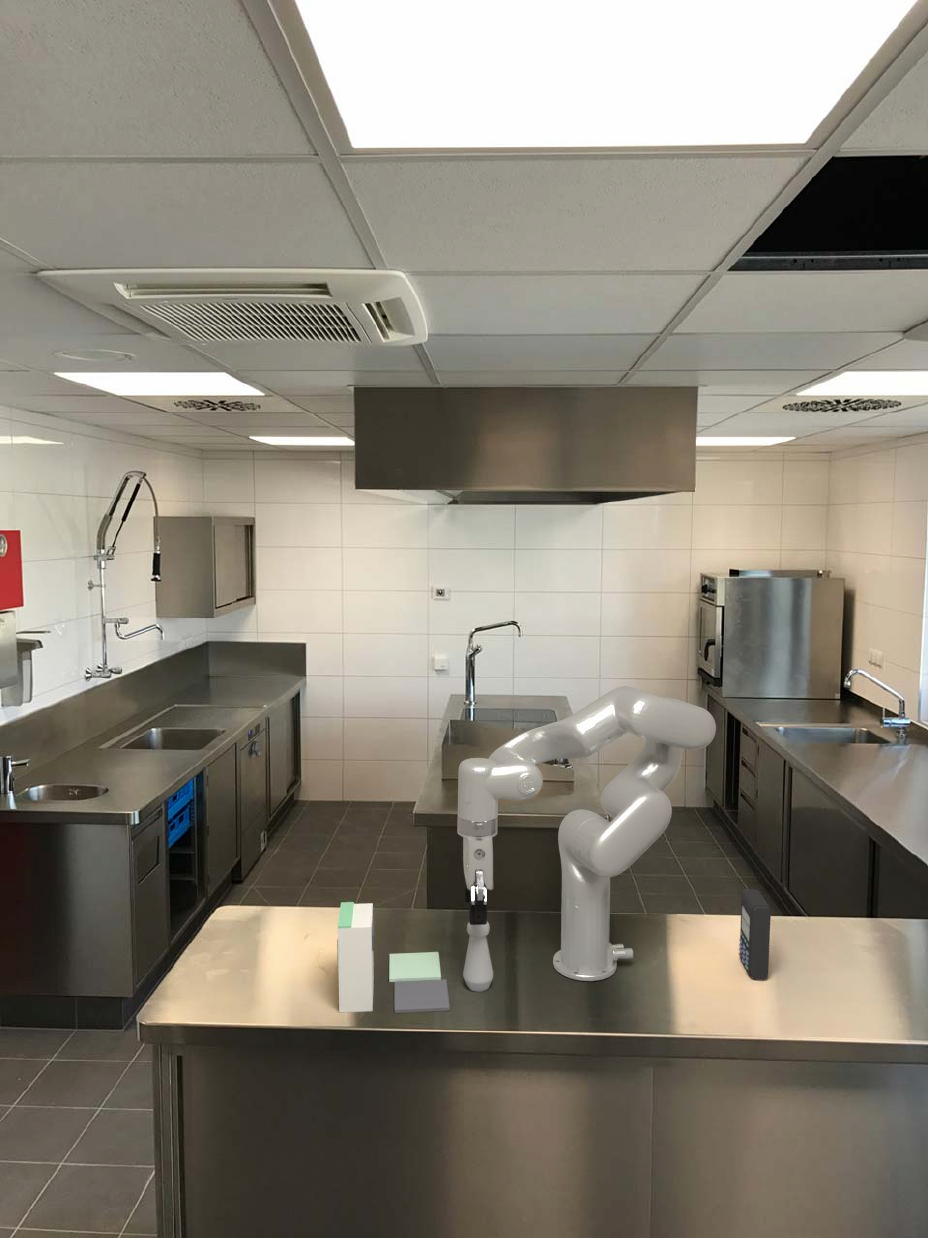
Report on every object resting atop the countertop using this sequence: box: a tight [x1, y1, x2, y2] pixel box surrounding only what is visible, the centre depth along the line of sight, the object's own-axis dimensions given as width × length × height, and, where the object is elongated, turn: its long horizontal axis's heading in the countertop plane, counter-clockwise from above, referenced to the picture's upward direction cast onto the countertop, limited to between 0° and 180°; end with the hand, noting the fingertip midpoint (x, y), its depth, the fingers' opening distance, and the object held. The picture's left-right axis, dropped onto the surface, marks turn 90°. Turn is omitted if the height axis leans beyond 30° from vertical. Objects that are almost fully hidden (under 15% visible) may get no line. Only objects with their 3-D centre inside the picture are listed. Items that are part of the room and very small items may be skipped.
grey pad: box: [394, 978, 450, 1014], centre depth 165 cm, size 10×10×1 cm
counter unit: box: [336, 901, 375, 1014], centre depth 164 cm, size 7×10×16 cm, turn 5°
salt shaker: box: [462, 921, 494, 993], centre depth 168 cm, size 6×6×13 cm
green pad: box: [388, 951, 442, 983], centre depth 176 cm, size 10×10×1 cm
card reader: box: [738, 888, 772, 981], centre depth 174 cm, size 9×4×15 cm, turn 177°
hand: (475, 912), depth 167 cm, fingers open, 9 cm apart
